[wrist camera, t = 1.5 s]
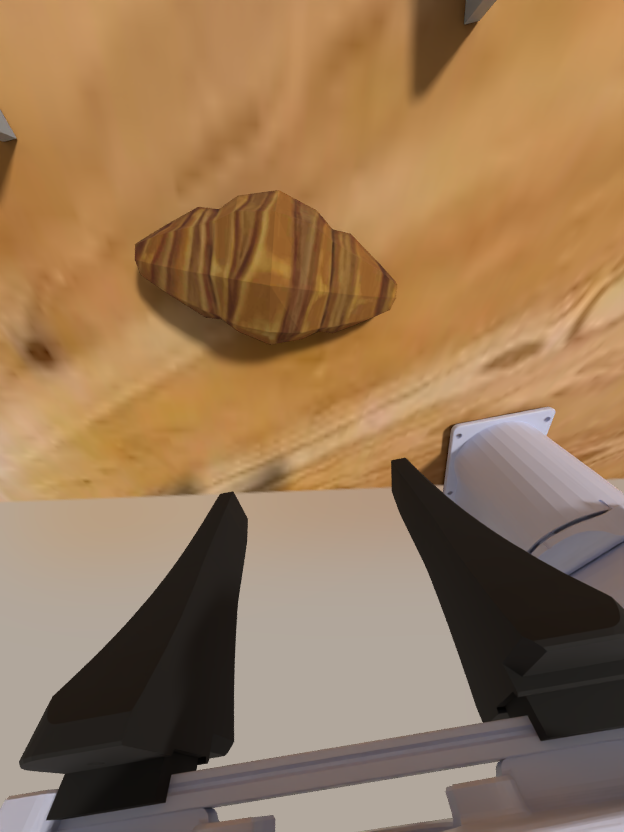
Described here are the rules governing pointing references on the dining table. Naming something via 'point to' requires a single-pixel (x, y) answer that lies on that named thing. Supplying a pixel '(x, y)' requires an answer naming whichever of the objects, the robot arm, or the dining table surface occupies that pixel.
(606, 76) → the dining table surface
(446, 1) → the dining table surface
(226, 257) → the croissant
